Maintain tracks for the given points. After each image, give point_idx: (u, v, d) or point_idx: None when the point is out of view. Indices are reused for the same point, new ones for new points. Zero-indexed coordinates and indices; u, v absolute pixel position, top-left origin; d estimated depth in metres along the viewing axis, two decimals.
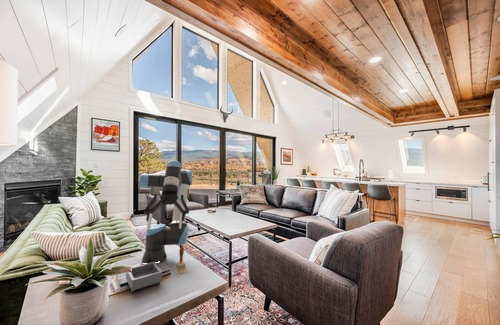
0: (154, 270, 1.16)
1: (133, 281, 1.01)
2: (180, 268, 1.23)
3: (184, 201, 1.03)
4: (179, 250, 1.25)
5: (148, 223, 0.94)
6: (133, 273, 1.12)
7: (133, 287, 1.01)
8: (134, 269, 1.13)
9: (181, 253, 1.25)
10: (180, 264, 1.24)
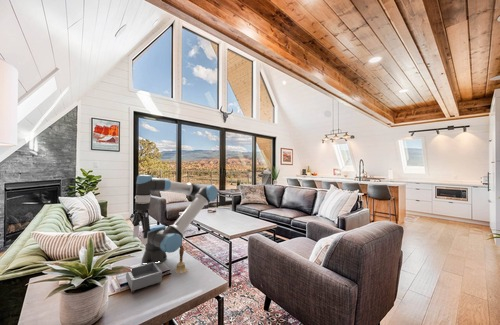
0: (154, 270, 1.16)
1: (133, 281, 1.01)
2: (180, 268, 1.23)
3: (144, 220, 1.11)
4: (179, 250, 1.25)
5: (133, 234, 1.21)
6: (133, 273, 1.12)
7: (133, 287, 1.01)
8: (134, 269, 1.13)
9: (181, 253, 1.25)
10: (180, 264, 1.24)
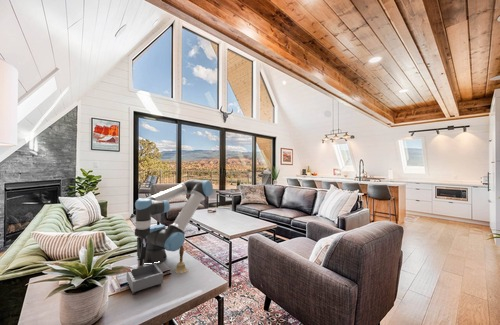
0: (155, 271, 1.14)
1: (134, 282, 1.00)
2: (180, 268, 1.23)
3: (141, 250, 1.11)
4: (179, 250, 1.25)
5: None
6: (134, 274, 1.11)
7: (134, 288, 1.00)
8: (135, 270, 1.12)
9: (181, 253, 1.25)
10: (180, 264, 1.24)
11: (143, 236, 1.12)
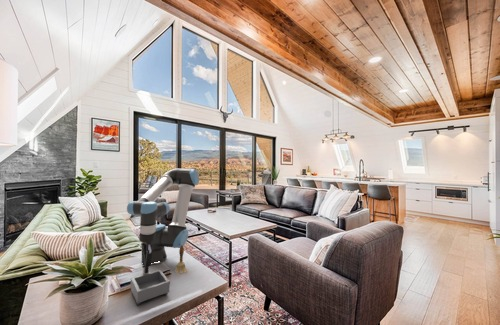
0: (161, 279, 1.07)
1: (139, 292, 0.92)
2: (180, 268, 1.23)
3: (146, 257, 1.04)
4: (179, 250, 1.25)
5: None
6: (138, 282, 1.04)
7: (139, 299, 0.93)
8: (139, 278, 1.04)
9: (181, 253, 1.25)
10: (180, 264, 1.24)
11: (148, 242, 1.05)
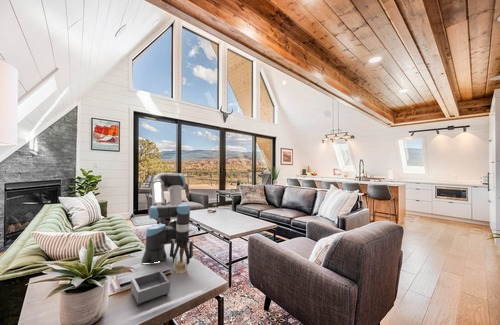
0: (161, 279, 1.07)
1: (139, 293, 0.92)
2: (181, 268, 1.23)
3: (191, 248, 1.24)
4: (179, 251, 1.25)
5: (174, 266, 1.25)
6: (138, 283, 1.04)
7: (139, 300, 0.92)
8: (139, 279, 1.04)
9: (181, 253, 1.25)
10: (180, 264, 1.24)
11: None
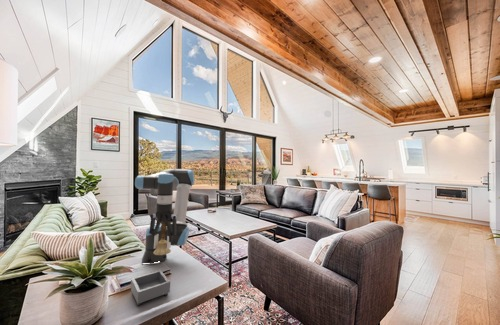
0: (161, 279, 1.07)
1: (139, 293, 0.92)
2: (162, 246, 1.06)
3: (174, 223, 1.07)
4: (161, 226, 1.08)
5: (154, 245, 1.07)
6: (138, 283, 1.04)
7: (139, 300, 0.92)
8: (139, 279, 1.04)
9: (163, 229, 1.08)
10: (161, 242, 1.07)
11: None
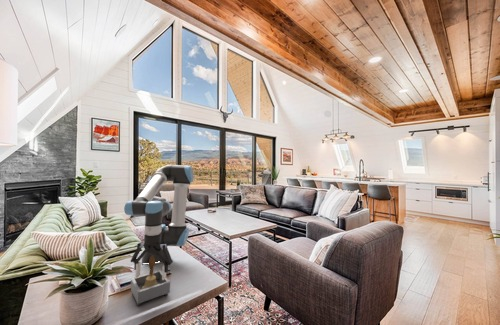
0: (161, 279, 1.07)
1: (139, 293, 0.92)
2: (150, 283, 0.99)
3: (166, 253, 1.00)
4: (149, 261, 1.01)
5: (136, 274, 1.01)
6: (138, 283, 1.04)
7: (139, 300, 0.92)
8: (139, 279, 1.04)
9: (151, 265, 1.01)
10: (149, 279, 1.00)
11: None
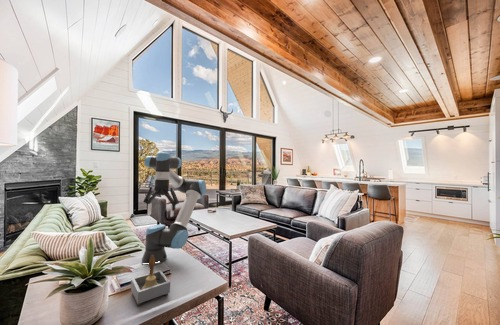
0: (161, 279, 1.07)
1: (139, 293, 0.92)
2: (150, 283, 0.99)
3: (173, 194, 1.20)
4: (149, 261, 1.01)
5: (148, 212, 1.20)
6: (138, 283, 1.04)
7: (139, 300, 0.92)
8: (139, 279, 1.04)
9: (151, 265, 1.01)
10: (150, 279, 1.00)
11: None
